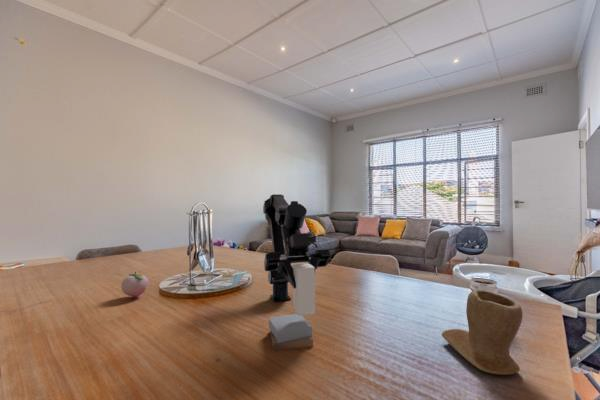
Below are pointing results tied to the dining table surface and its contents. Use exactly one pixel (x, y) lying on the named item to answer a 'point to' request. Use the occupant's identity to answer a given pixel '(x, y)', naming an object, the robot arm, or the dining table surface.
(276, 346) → the tower base slab
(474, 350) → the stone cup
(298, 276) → the pillar
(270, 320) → the tower top slab
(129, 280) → the decorative fruit
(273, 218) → the robot arm
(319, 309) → the dining table surface
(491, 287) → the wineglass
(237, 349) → the dining table surface
